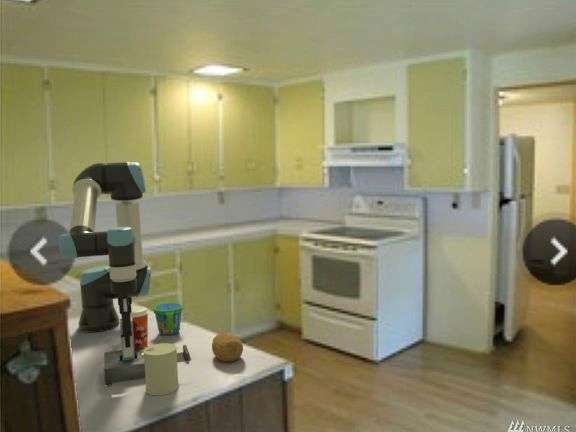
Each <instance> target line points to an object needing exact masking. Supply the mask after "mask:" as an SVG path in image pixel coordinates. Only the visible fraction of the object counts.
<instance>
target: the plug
mask: <svg viewBox="0 0 576 432" xmlns="http://www.w3.org/2000/svg"><path fill="white" fill-rule="evenodd" d="M130 319H131V333H132V344H133V357H127V358H124V352H123V337H121V338H120V341H121V342H120V343H121V344H120V345H121V350H122V360H123V361H125V360H132V359H135V351H134V335H133V320H132V317H130ZM119 326H120V327H119V329H120V335H122V334H123V329H122V318H119Z"/></svg>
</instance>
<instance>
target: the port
mask: <svg viewBox="0 0 576 432" xmlns="http://www.w3.org/2000/svg"><path fill="white" fill-rule="evenodd" d="M149 346H150V345H149ZM149 346H147V347H149ZM147 347H140V348H134V351H135V359H132V360H125V361H123V360H122V349H120V350H119V349H118V350H112V351H105V352H104V354H103V355H104V359H103V377H104V386H105V387H106V386H107V385H108V386H112V385H113V384H114V383H121V382H126V381H133V380H140V379H146V377H145V362H144V352H143V351H144V349H145V348H147ZM108 386H107V387H108Z"/></svg>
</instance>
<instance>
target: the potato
mask: <svg viewBox="0 0 576 432" xmlns="http://www.w3.org/2000/svg"><path fill="white" fill-rule="evenodd" d="M211 350H212V353H213V355H214V356H215V357H216V358H217V359H218V360H220V361H223V362H228V363H230V362H234V361H235V362H236V361H237V360H238V359H239V358H240V357H241V356H242V355H243V352H244V345H243V343H242V341H241V339H240V338H239V337H238V336H237V335H234V334H231V333H228V332H222V333H218V334H216V335H215V336H214V338H213V339H212V343H211Z"/></svg>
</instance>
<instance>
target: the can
mask: <svg viewBox="0 0 576 432" xmlns="http://www.w3.org/2000/svg"><path fill="white" fill-rule="evenodd" d="M177 349H178V347H177V346H176V344H173V343H165V342H161V343H156V344H151V345H149V347H147V348H145V349H144V351H143V352H144V362H145V377H146V378H145V392H146V393H147V394H148V395H152V396H163V395H164V396H165V395H169V394H172V393H174V392H176V391H177V390H178V389H179V388H180V384H179V374H178V373H179V372H178V362H177V353H178V352H177Z"/></svg>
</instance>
